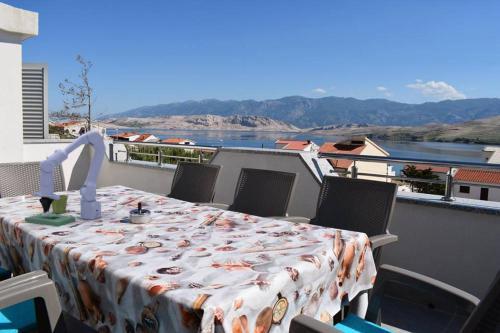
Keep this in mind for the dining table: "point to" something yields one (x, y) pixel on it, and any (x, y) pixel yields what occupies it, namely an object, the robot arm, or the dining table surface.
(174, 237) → the dining table surface
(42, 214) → the ball
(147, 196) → the dining table surface
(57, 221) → the putting mat
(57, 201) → the plant pot
